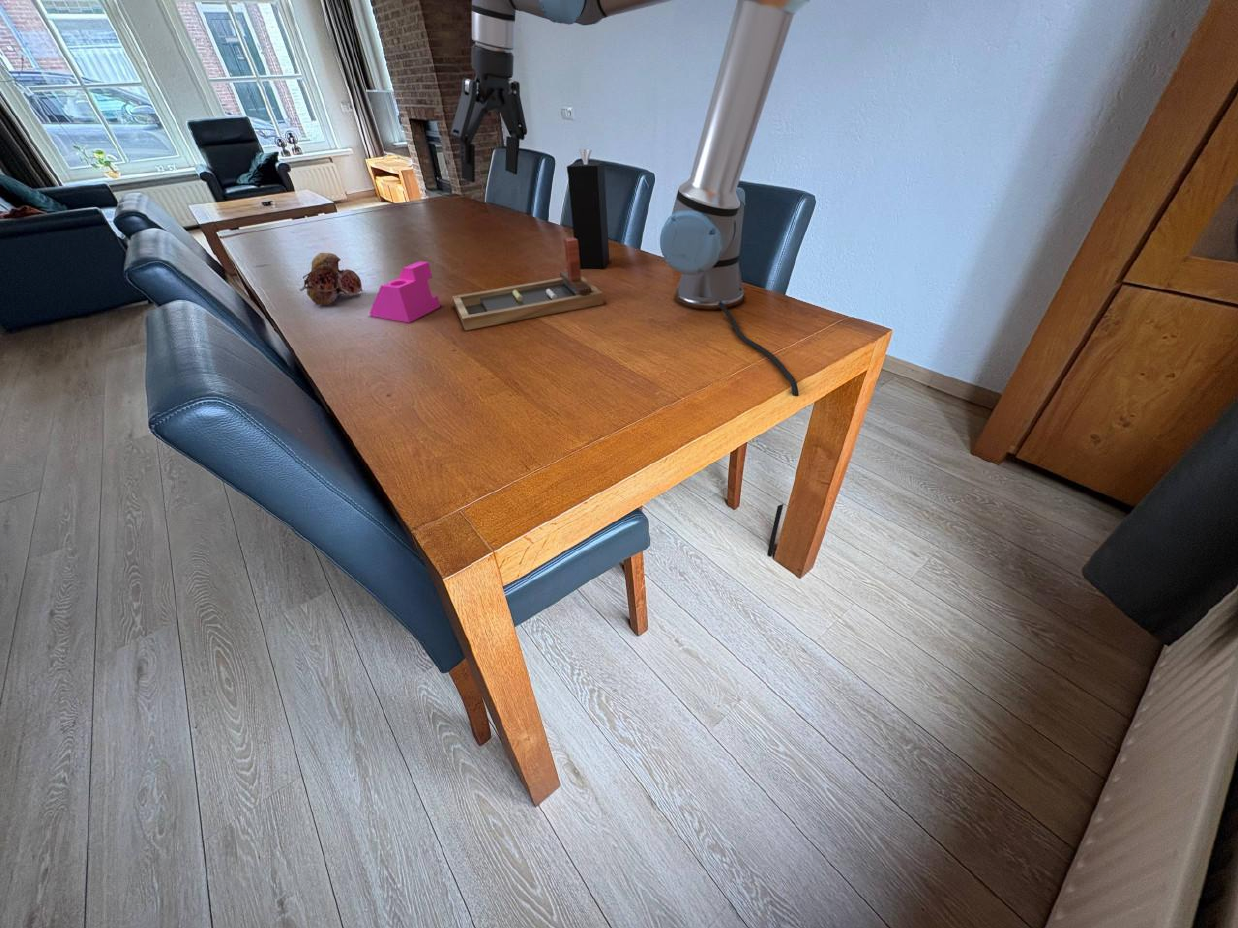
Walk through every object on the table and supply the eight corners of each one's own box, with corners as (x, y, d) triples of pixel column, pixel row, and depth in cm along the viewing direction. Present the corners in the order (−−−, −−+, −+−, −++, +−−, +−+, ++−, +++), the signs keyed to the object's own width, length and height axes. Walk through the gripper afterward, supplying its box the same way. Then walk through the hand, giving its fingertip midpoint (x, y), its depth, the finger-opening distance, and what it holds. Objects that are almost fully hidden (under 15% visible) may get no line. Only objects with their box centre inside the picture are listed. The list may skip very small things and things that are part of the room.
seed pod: (280, 291, 111) (340, 259, 113) (272, 259, 120) (327, 230, 122) (321, 334, 122) (375, 304, 124) (311, 302, 131) (361, 275, 133)
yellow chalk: (522, 301, 114) (523, 296, 113) (517, 301, 113) (517, 295, 113) (517, 295, 118) (517, 289, 117) (512, 295, 117) (512, 289, 116)
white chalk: (555, 301, 113) (558, 296, 113) (551, 299, 113) (553, 294, 112) (549, 295, 117) (552, 290, 117) (545, 292, 116) (547, 287, 116)
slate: (603, 304, 115) (602, 293, 113) (465, 330, 106) (462, 318, 104) (580, 284, 126) (580, 274, 125) (454, 307, 117) (452, 296, 116)
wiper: (592, 297, 113) (588, 245, 106) (580, 299, 112) (575, 247, 105) (571, 279, 124) (566, 231, 117) (560, 281, 123) (555, 233, 117)
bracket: (440, 306, 118) (428, 262, 112) (409, 322, 111) (394, 275, 104) (402, 301, 122) (389, 258, 116) (370, 316, 115) (354, 271, 109)
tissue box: (603, 269, 136) (596, 150, 119) (576, 268, 138) (565, 151, 121) (609, 260, 142) (603, 146, 125) (583, 260, 144) (573, 147, 127)
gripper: (519, 46, 99) (513, 164, 114) (425, 37, 82) (433, 177, 96) (549, 56, 97) (540, 174, 112) (460, 48, 80) (462, 190, 94)
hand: (490, 176), depth 104 cm, fingers open, 13 cm apart
